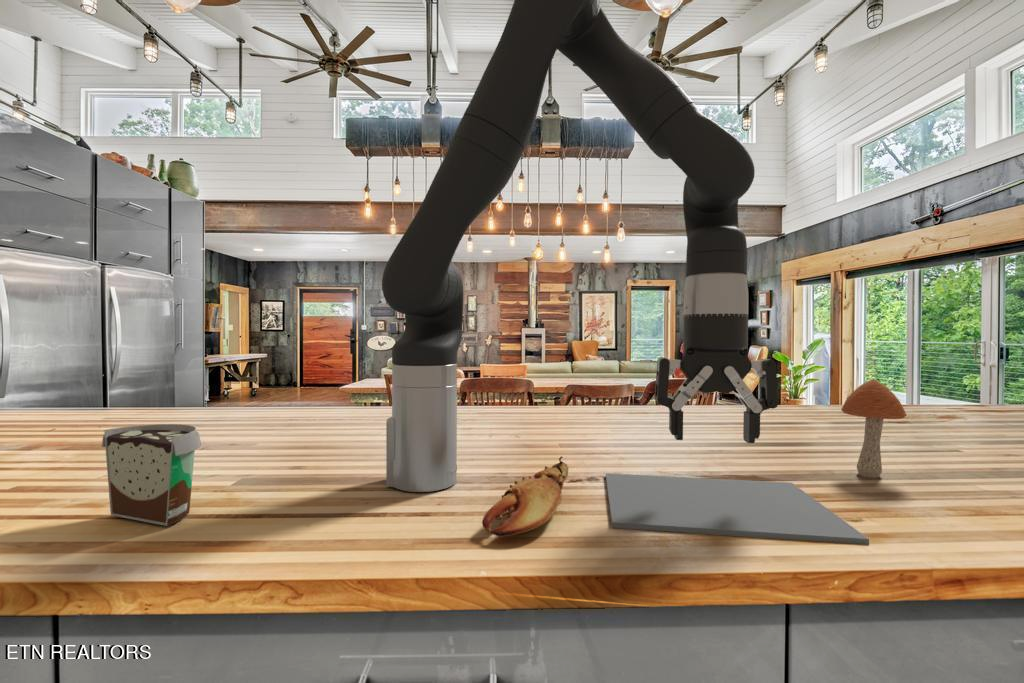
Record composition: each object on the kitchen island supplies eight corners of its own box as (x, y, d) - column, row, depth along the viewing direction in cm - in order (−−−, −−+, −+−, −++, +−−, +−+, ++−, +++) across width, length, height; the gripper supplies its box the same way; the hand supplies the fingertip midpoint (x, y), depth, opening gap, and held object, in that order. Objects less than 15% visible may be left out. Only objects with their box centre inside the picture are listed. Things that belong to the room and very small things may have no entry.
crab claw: (594, 459, 64) (527, 538, 47) (589, 493, 66) (522, 581, 49) (548, 444, 68) (468, 512, 50) (543, 476, 69) (465, 554, 52)
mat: (611, 527, 54) (612, 522, 54) (605, 477, 72) (605, 473, 72) (869, 544, 50) (869, 539, 50) (791, 486, 68) (791, 482, 68)
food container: (226, 508, 59) (225, 427, 59) (176, 527, 53) (176, 437, 53) (155, 497, 63) (154, 420, 63) (102, 513, 57) (101, 429, 57)
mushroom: (896, 474, 75) (898, 378, 75) (913, 488, 68) (915, 382, 68) (835, 467, 78) (837, 375, 78) (845, 481, 71) (847, 380, 71)
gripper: (661, 311, 58) (659, 445, 58) (788, 310, 56) (786, 450, 56) (652, 313, 65) (651, 432, 66) (764, 313, 63) (762, 436, 63)
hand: (713, 440), depth 61 cm, fingers open, 8 cm apart
